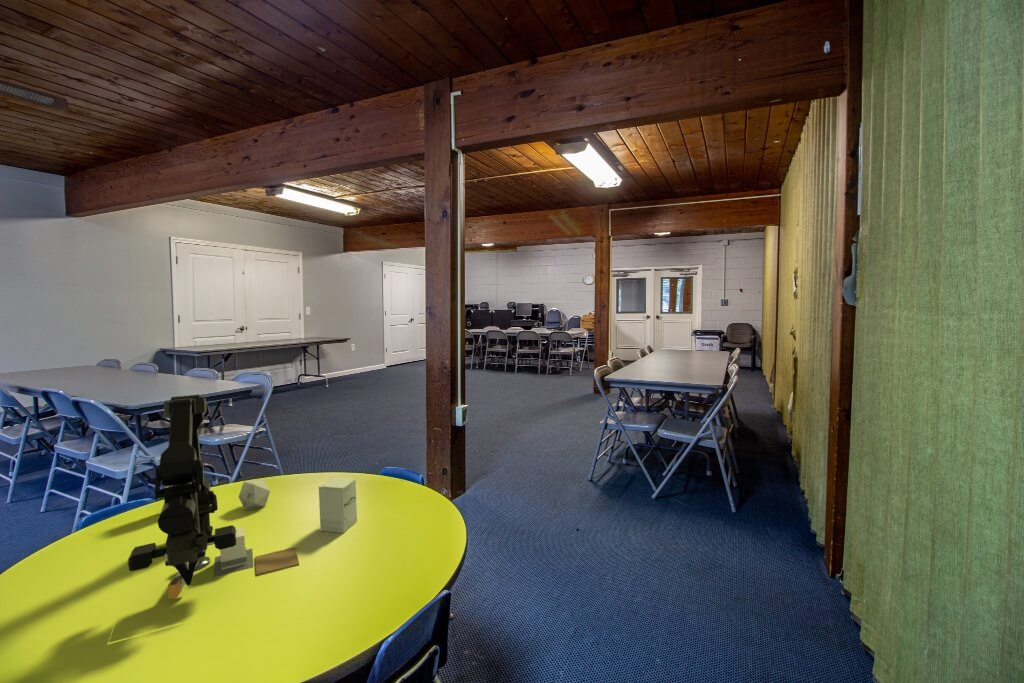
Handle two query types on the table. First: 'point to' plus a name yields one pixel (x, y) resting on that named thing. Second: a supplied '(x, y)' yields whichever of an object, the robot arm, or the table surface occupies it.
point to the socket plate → (249, 564)
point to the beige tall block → (234, 552)
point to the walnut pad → (276, 561)
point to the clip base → (203, 563)
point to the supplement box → (337, 504)
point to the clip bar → (178, 583)
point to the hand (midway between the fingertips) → (189, 584)
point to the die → (254, 494)
